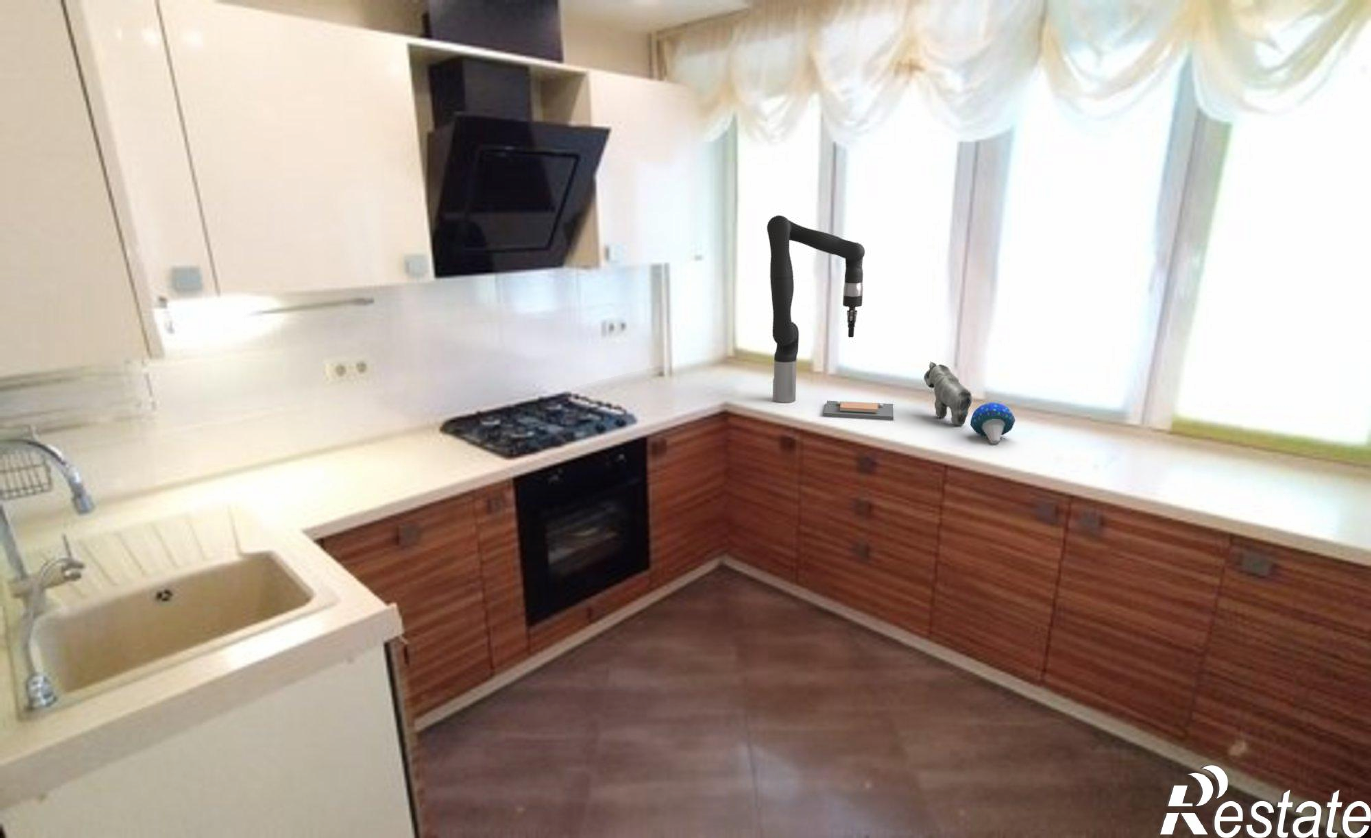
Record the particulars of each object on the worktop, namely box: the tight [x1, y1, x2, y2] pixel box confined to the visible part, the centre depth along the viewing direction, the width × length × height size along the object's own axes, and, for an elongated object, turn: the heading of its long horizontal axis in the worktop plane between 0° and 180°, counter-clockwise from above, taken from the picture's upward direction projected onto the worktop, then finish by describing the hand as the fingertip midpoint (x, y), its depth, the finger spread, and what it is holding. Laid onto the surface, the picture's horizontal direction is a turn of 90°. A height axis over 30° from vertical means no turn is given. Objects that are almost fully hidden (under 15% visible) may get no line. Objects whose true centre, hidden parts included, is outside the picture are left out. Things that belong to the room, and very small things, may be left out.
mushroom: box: [969, 402, 1016, 445], centre depth 227 cm, size 14×14×15 cm
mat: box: [823, 400, 895, 421], centre depth 262 cm, size 26×18×3 cm
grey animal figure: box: [923, 361, 973, 427], centre depth 249 cm, size 25×9×20 cm, turn 15°
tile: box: [840, 400, 879, 413], centre depth 260 cm, size 14×10×2 cm
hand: (850, 337), depth 271 cm, fingers closed
